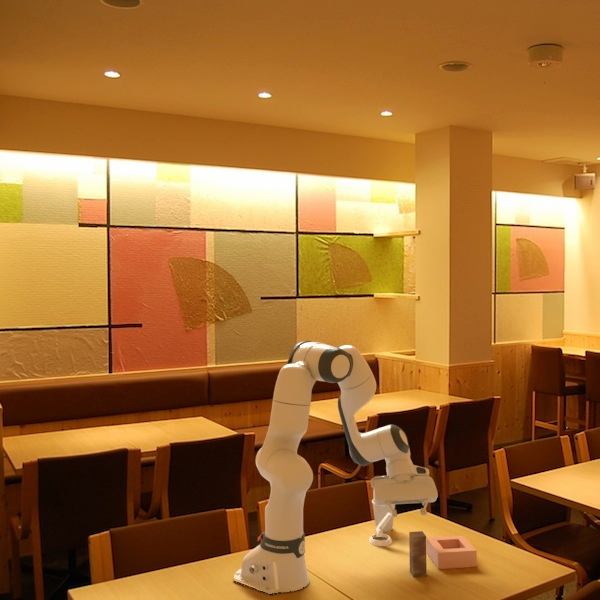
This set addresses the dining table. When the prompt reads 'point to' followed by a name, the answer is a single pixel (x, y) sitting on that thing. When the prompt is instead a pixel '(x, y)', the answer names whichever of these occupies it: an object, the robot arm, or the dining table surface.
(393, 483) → the robot arm
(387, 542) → the white lever
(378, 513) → the dixie cup
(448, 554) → the terracotta well
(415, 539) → the walnut block
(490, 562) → the dining table surface
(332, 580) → the dining table surface
